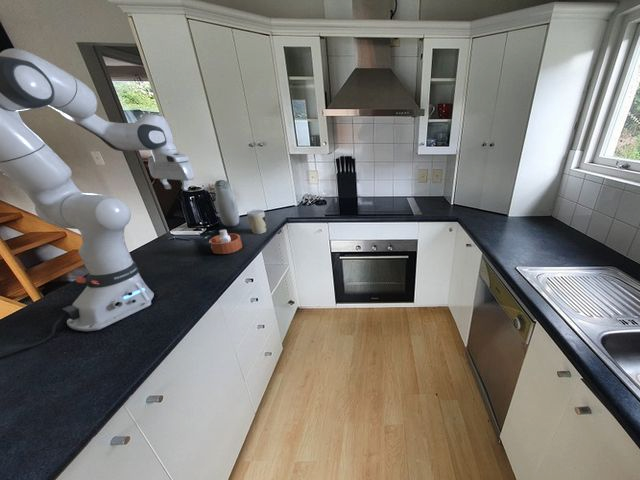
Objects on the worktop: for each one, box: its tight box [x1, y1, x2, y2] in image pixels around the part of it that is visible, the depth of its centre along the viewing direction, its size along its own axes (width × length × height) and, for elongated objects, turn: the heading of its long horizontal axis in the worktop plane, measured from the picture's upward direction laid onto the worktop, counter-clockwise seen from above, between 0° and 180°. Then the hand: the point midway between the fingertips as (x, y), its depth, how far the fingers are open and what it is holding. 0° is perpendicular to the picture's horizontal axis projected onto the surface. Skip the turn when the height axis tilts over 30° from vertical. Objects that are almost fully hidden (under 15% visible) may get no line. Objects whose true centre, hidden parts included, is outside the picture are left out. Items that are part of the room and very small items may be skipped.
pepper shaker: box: [218, 229, 231, 243], centre depth 136 cm, size 4×4×10 cm
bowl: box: [208, 232, 243, 255], centre depth 137 cm, size 14×14×6 cm
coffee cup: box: [246, 209, 267, 235], centre depth 158 cm, size 9×9×12 cm
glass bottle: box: [214, 179, 240, 228], centre depth 162 cm, size 10×10×28 cm
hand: (176, 189), depth 121 cm, fingers open, 8 cm apart
